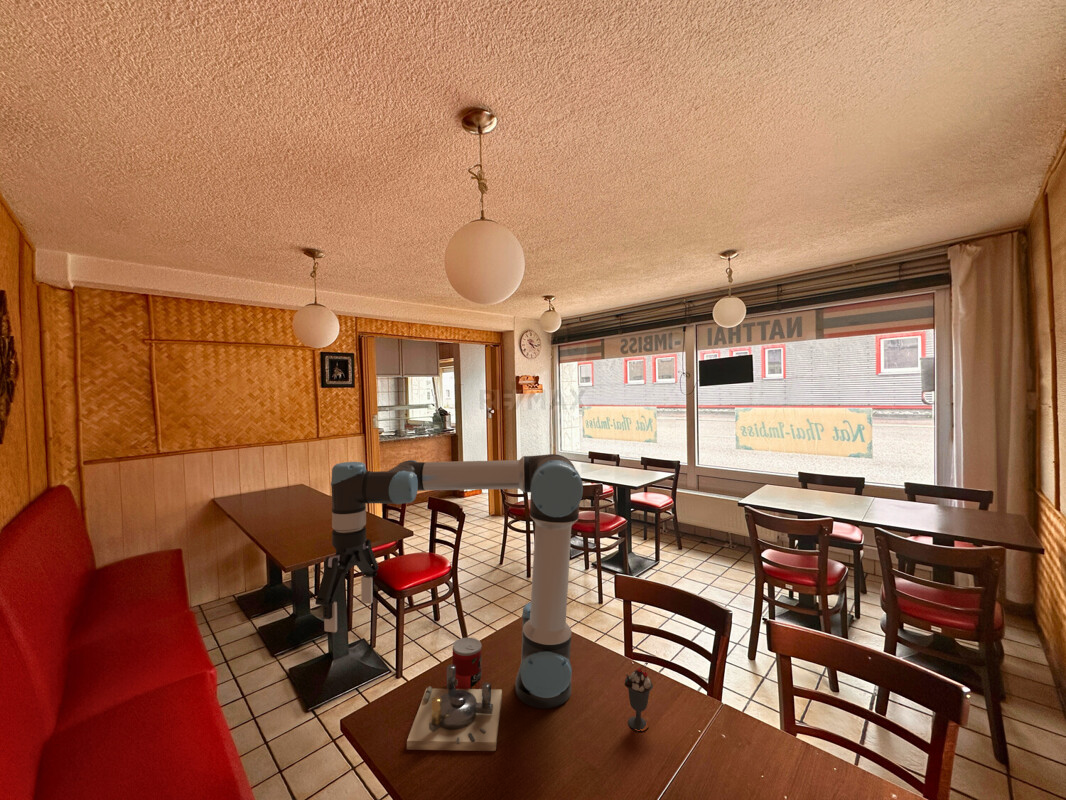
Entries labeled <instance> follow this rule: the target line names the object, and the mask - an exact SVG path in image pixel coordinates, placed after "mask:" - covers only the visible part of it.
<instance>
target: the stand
mask: <svg viewBox="0 0 1066 800" xmlns="http://www.w3.org/2000/svg"><path fill="white" fill-rule="evenodd" d="M456 690H464V691H467V692H470V693H471V694H473V695H474V696H475V698H476V701H477V703H482V688H478V689H456ZM502 690H503V689H495V688H494V689H492V688H491V704H493V712H492V714H482V713H476V717H475V719H474V720H473V721H472V722H471V723H470V724H469V725H467V726H466V727H463V728H461V729H456V730H449V729H444V728H442V727H440V728H439V729H437V730H436V731H435V732H432V731H431V730H430V729H429V723H430V722H431V721H432V698H434V697H436V696H439V697H441V696H442V695H443V694H445V693H447V692H448V690H447V688H433V687H432V686H427V687H426V689H425V691H424V694H423V696H422V698H421V702H420V705H419V708H418V710H417V713H416V715H415V718H414V720H413V722H412V726H411V729H410V731H409V734H408V736H407V737H408V738H407V740H406V750H410V751H412V750H415V751H416V750H417V751H419V750H420V751H427V750H428V751H468V752H469V751H472V752H473V751H474V752H475V751H479V752H495V751H496V749H497V744H498V743H497V742H498V733H499V723H500V716H501V707H502V700H503V699H502V698H503V691H502Z"/></svg>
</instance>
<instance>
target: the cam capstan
mask: <svg viewBox="0 0 1066 800" xmlns="http://www.w3.org/2000/svg"><path fill="white" fill-rule="evenodd" d="M481 684H482V685H481V689H482V703H477V701H476V698H475V696H474V695H473V694H471V693H470V692H467V691H464V690H456V688H455V686H456V666H455V665H454V664H453V663H450V664H448V665H447V666H446V689H447V690H448V692H447V693H445V694H443V695H442V696H441V697H439V696H436V697H434V698H432V721H431V722H430V723H429V729H430V730H431V731H432V732H435V731H436V730H437V729H439V728H440V727H442V728H444V729H449V730H456V729H461V728H463V727H466V726H467V725H469V724H470V723H471V722H472V721H473V720H474V719H475V717H476V713H482V714H492V712H493V704H491V689H492V683H491V682H484V683H481Z"/></svg>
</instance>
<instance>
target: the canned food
mask: <svg viewBox="0 0 1066 800" xmlns="http://www.w3.org/2000/svg"><path fill="white" fill-rule="evenodd" d="M482 655H483V654H482V642H481V641H480V640H479V639H477V638H475V637H462V638H459V639H456V641H454V642H453V645H452V664H454V665H455V666H456V686H455V688H456V689H480V687H481V684H482V664H483V663H482V660H483V659H482V658H483V657H482Z"/></svg>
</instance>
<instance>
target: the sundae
mask: <svg viewBox="0 0 1066 800" xmlns="http://www.w3.org/2000/svg"><path fill="white" fill-rule="evenodd" d="M647 665H648V662H644V665H643V666H642V667H638V668H637V669H636V670H633V672H631V674H630V675H628V673H626V674H625V676H626V678H625V679H624V687H626V688H627V690H628V698H629V699H628V700H629V703H630V706H631V708H632V709H633V710H634V711H635V715H633V716H634V717H633V716H631V717H629V718H628V721H627V725H628V724H629V725H628V726H629V728H630V727H631V728H633V729H634V730H633V729H632V730H633V731H635V729H637V730H640V729H643V728H644V727H645V726H646V721H647V720H646V719H645V718H644V719H645V720H646V721H645V720H644V719H643V717H642V712H643V711H645V710H646V709H647V708H648V703H649V698H650V697H649V695H650V692H651V691H652V690H653V687H654V685H653V682H652V681H651V680H650V678H649V675H648V672H647V671H646V670H644V671H643V668H644V669H646V668H647ZM635 716H636V717H635ZM641 717H642V718H641ZM640 731H641V730H640Z"/></svg>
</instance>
